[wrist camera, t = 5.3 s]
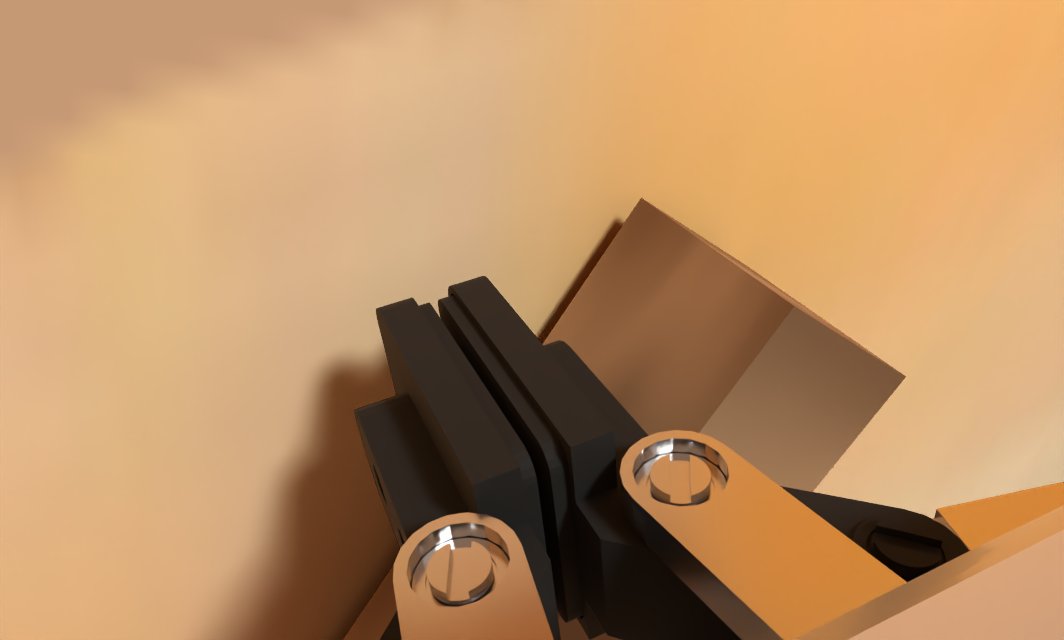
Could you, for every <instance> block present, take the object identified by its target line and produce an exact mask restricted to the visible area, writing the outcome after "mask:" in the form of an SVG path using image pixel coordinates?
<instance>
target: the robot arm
mask: <svg viewBox="0 0 1064 640" xmlns="http://www.w3.org/2000/svg"><path fill="white" fill-rule="evenodd" d="M448 296H449V297H446V298H443V299H439V301H438V307H439V313H440V317H439V316H438V314H437V313H436V311H435V310H434V308H433V307H432V305H431V304H430V303H426V304H423V305H420V306H418V304H417V303H416V301H415V300H414V299H413V298H409V299H406V300H403V301H399V302H396V303H393V304H390V305H386V306H383V307H380V308H377V309H376V315H377V320H378V324H379V328H380V332H381V336H382V340H383V344H384V348H385V352H386V356H387V360H388V364H389V368H390V372H391V376H392V380H393V384H394V388H395V392H396V396H394V397H391V398H388V399H385V400H382V401H379V402H376V403H373V404H370V405H367V406H364V407H361V408H358V409H355V410H354V413H355V417H356V421H357V424H358V428H359V431H360V435H361V438H362V441H363V445H364V448H365V452H366V455H367V458H368V461H369V464H370V468H371V471H372V474H373V477H374V480H375V483H376V486H377V488H378V491H379V494H380V497H381V500H382V502H383V505H384V508H385V510H386V513H387V515H388V518H389V520H390V523H391V526H392V528H393V531H394V533H395V536H396V539H397V541H398V544H399V546H400V551H399V553H398V555H397V558H396V560H395V563H394V569H393V585H394V591H395V598H396V605H397V611H396V613H395V615H394V616H393V618H392V620H391V621H390V623H389V625H388V626H387V628H386V630H385V631H384V633H383V635H382V636H381V638H380V640H561V636H560V629H559V621H558V613H559V615H560V616H561V618H562V619H563V620H564V622H566V623H568V622H570V621H572V620H574V619H576V618H577V620H578V621H579V623H580V625H581V626H582V628H583V630H584V632H585V633H586V635H587V637H588V638H589V640H591V639H593V638H595V637H597V636H599V635H602V634H604V633H607V635H608V636H611V637H615V638H618V639H622V640H1064V482H1061V483H1056V484H1052V485H1047V486H1042V487H1037V488H1033V489H1028V490H1023V491H1019V492H1014V493H1009V494H1005V495H1000V496H995V497H990V498H986V499H981V500H976V501H972V502H967V503H962V504H958V505H953V506H948V507H944V508H939V509H937V510H936V514H935V517H934V519H931V518H929V517H927V516H925V515H922V514H919V513H915V512H912V511H908V510H905V509H900V508H895V507H889V506H884V505H879V504H873V503H868V502H863V501H857V500H852V499H847V498H841V497H836V496H831V495H826V494H820V493H815V492H810V491H804V490H799V489H794V488H788V487H783V486H779V485H778V484H776V483H775V482H774V481H772V480H771V479H770V478H768V477H767V476H766V475H764V474H763V473H762V472H761V471H759V470H758V469H757V468H755V467H754V466H753V465H751V464H750V463H749V462H747V461H746V460H745V459H743V458H742V457H741V456H739V455H738V454H737V453H735V452H734V451H733V450H731V449H730V448H729V447H727V446H726V445H725V444H723V443H721V442H719V441H718V440H716V439H714V438H712V437H711V436H707V435H704V434H701V433H697V432H694V431H682V430H671V431H664V432H657V433H655V434H652V435H650V436H649V435H648V434H647V433H646V432H645V431H644V430H643V429H642V428H641V426H640V425H639V424H638V423H637V422H636V421H635V420H634V418H633V417H632V416H631V415H630V414H629V413H628V412H627V411H626V409H625V408H624V407H623V406H622V405H621V404H620V403H619V401H618V400H617V399H616V398H615V397H614V396H613V395H612V394H611V392H610V391H609V390H608V389H607V388H606V387H605V386H604V385H603V383H602V382H601V381H600V380H599V379H598V378H597V377H596V375H595V374H594V373H593V372H592V371H591V370H590V369H589V368H588V366H587V365H586V364H585V363H584V362H583V361H582V360H581V358H580V357H579V356H578V355H577V354H576V353H575V352H574V351H573V349H572V348H571V347H570V346H569V345H568V344H567V343H565V342H564V341H561V340H558V341H555V342H552V343H549V344H546V345H543V344H542V343H541V342H540V341H539V339H538V338H537V337H536V336H535V335H534V333H533V332H532V331H531V330H530V329H529V327H528V326H527V325H526V324H525V323H524V321H523V320H522V319H521V318H520V317H519V315H518V314H517V313H516V312H515V311H514V309H513V308H512V307H511V306H510V305H509V303H508V302H507V301H506V300H505V299H504V297H503V296H502V295H501V294H500V293H499V291H498V290H497V289H496V288H495V287H494V285H493V284H492V283H491V282H490V281H489V279H488V278H487V277H485V276H481V277H478V278H475V279H472V280H468V281H465V282H462V283H459V284H455V285H452V286H449V288H448ZM440 318H441V319H440ZM557 611H558V613H557Z"/></svg>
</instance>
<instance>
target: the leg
mask: <svg viewBox="0 0 1064 640" xmlns="http://www.w3.org/2000/svg"><path fill="white" fill-rule="evenodd" d="M558 340H561V341H564V342H565V343H567V344H568V345H569V346H570V347H571V348H572V349H573V351H574V352H575V353H576V354H577V355H578V356H579V357H580V358H581V360H582V361H583V362H584V363H585V364H586V365H587V366H588V368H589V369H590V370H591V371H592V372H593V373H594V374H595V375H596V377H597V378H598V379H599V380H600V381H601V382H602V383H603V385H604V386H605V387H606V388H607V389H608V390H609V391H610V392H611V394H612V395H613V396H614V397H615V398H616V399H617V400H618V401H619V403H620V404H621V405H622V406H623V407H624V408H625V409H626V411H627V412H628V413H629V414H630V415H631V416H632V417H633V418H634V420H635V421H636V422H637V423H638V424H639V425H640V426H641V428H642V429H643V430H644V431H645V432H646V433H647V434H648V435H649V436H650V435H652V434H655V433H657V432H664V431H671V430H682V431H694V432H697V433H701V434H704V435H707V436H711V437H712V438H714V439H716V440H718V441H719V442H721V443H723V444H725V445H726V446H727V447H729V448H730V449H731V450H733V451H734V452H735V453H737V454H738V455H739V456H741V457H742V458H743V459H745V460H746V461H747V462H749V463H750V464H751V465H753V466H754V467H755V468H757V469H758V470H759V471H761V472H762V473H763V474H764V475H766V476H767V477H768V478H770V479H771V480H772V481H774V482H775V483H776V484H778V485H779V486H783V487H788V488H794V489H799V490H804V491H810V492H813V491H814V489H815V488H816V487H817V486H818V485H819V483H820V482H821V481H822V480H823V478H824V477H825V476H826V475H827V473H828V472H829V471H830V470H831V469H832V467H833V466H834V465H835V464H836V462H837V461H838V460H839V459H840V457H841V456H842V455H843V454H844V452H845V451H846V450H847V449H848V448H849V446H850V445H851V444H852V443H853V441H854V440H855V439H856V438H857V436H858V435H859V434H860V433H861V432H862V430H863V429H864V428H865V427H866V425H867V424H868V423H869V422H870V420H871V419H872V418H873V417H874V415H875V414H876V413H877V412H878V411H879V409H880V408H881V407H882V406H883V404H884V403H885V402H886V401H887V399H888V398H889V397H890V396H891V395H892V393H893V392H894V391H895V390H896V388H897V387H898V386H899V385H900V383H901V382H902V381H903V380H904V378H905V377H906V376H904V375H903V374H901V373H900V372H899V371H897V370H896V369H894V368H893V367H891V366H890V365H888V364H887V363H886V362H884V361H883V360H881V359H880V358H878V357H877V356H876V355H874V354H873V353H871V352H870V351H868V350H867V349H865V348H864V347H863V346H861V345H860V344H858V343H857V342H855V341H854V340H853V339H851V338H850V337H848V336H847V335H845V334H844V333H842V332H841V331H840V330H838V329H837V328H835V327H834V326H832V325H831V324H829V323H828V322H827V321H825V320H824V319H822V318H821V317H819V316H818V315H817V314H815V313H814V312H812V311H811V310H809V309H808V308H806V307H805V306H804V305H802V304H801V303H799V302H798V301H796V300H795V299H794V298H792V297H791V296H789V295H788V294H786V293H785V292H783V291H782V290H781V289H779V288H778V287H776V286H775V285H773V284H772V283H771V282H769V281H768V280H766V279H765V278H763V277H762V276H760V275H759V274H758V273H756V272H755V271H753V270H752V269H750V268H749V267H748V266H746V265H745V264H743V263H741V262H740V261H738V260H737V259H735V258H734V257H732V256H731V255H729V254H727V253H726V252H724V251H723V250H721V249H720V248H718V247H717V246H715V245H713V244H712V243H710V242H709V241H707V240H706V239H704V238H703V237H701V236H700V235H698V234H696V233H695V232H693V231H692V230H690V229H689V228H687V227H686V226H684V225H682V224H681V223H679V222H678V221H676V220H675V219H673V218H672V217H670V216H668V215H667V214H665V213H664V212H662V211H661V210H659V209H658V208H656V207H655V206H653V205H651V204H650V203H648V202H647V201H645V200H644V199H642V198H641V199H640V201H639V202H638V204H637V205H636V206H635V208H634V209H633V211H632V212H631V214H630V215H629V217H628V218H627V220H626V221H625V223H624V224H623V226H622V227H621V229H620V230H619V232H618V233H617V235H616V236H615V238H614V239H613V241H612V242H611V244H610V245H609V246H608V248H607V249H606V251H605V252H604V254H603V255H602V257H601V258H600V260H599V261H598V263H597V264H596V266H595V267H594V269H593V270H592V272H591V273H590V275H589V276H588V278H587V279H586V281H585V282H584V284H583V285H582V286H581V288H580V289H579V291H578V292H577V294H576V295H575V297H574V298H573V300H572V301H571V303H570V304H569V306H568V307H567V309H566V310H565V312H564V313H563V315H562V316H561V318H560V319H559V321H558V322H557V323H556V325H555V326H554V328H553V329H552V331H551V332H550V334H549V335H548V337H547V338H546V340H545V341H544V343H543V345H546V344H549V343H552V342H555V341H558ZM393 569H394V565H393V566H392V568H391V569H390V571H389V572H388V574H387V575H386V577H385V578H384V580H383V581H382V583H381V584H380V586H379V587H378V589H377V590H376V592H375V593H374V595H373V596H372V598H371V599H370V600H369V602H368V603H367V605H366V606H365V608H364V609H363V611H362V612H361V614H360V615H359V617H358V618H357V620H356V621H355V623H354V624H353V626H352V627H351V629H350V630H349V632H348V633H347V635H346V636H345V638H344V639H343V640H380V638H381V636H382V635H383V633H384V631H385V630H386V628H387V626H388V625H389V623H390V621H391V620H392V618H393V616H394V615H395V613H396V611H397V605H396V598H395V591H394V585H393ZM557 613H558V611H557ZM558 621H559V629H560V636H561V640H589V638H588V637H587V635H586V633H585V632H584V630H583V628H582V626H581V625H580V623H579V621H578V620H577V618H576V619H574V620H572V621H570V622H568V623H566V622H564V620H563V619H562V618H561V616H560V615H559V613H558ZM591 640H622V639H618V638H615V637H611V636H608V635H607V633H604V634H602V635H599V636H597V637H595V638H593V639H591Z"/></svg>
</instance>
